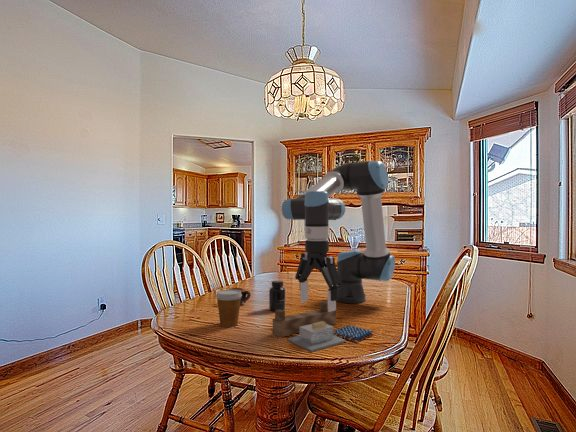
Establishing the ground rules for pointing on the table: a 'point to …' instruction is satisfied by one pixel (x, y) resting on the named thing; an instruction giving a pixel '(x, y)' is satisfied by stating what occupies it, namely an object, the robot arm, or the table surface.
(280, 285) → the supplement bottle
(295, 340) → the pad
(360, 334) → the woven mat
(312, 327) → the light grey block
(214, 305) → the table surface
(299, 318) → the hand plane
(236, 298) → the disposable coffee cup
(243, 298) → the pottery mug
